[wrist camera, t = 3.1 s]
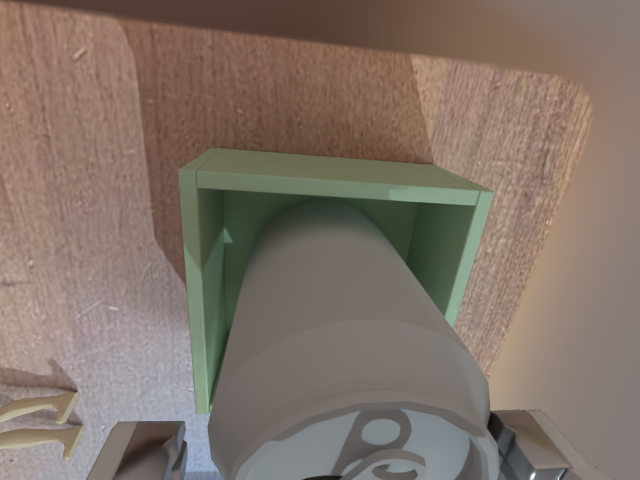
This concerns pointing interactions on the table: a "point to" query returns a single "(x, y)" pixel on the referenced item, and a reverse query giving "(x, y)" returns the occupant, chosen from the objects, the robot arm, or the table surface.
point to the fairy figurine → (41, 436)
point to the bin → (301, 186)
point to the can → (344, 364)
